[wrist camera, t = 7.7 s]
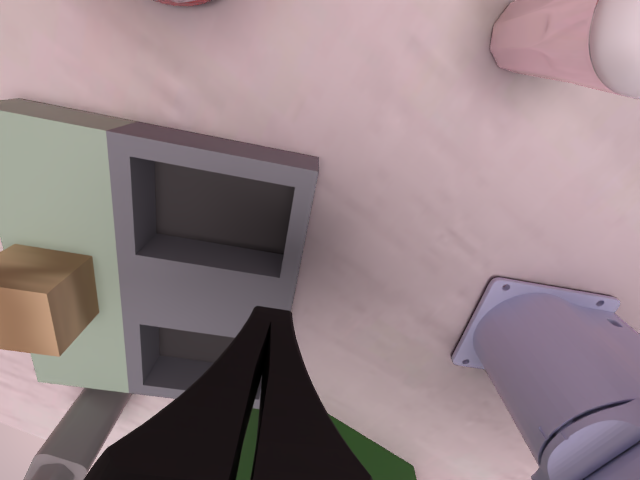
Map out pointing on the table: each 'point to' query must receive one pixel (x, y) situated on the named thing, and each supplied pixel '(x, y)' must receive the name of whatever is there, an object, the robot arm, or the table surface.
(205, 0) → the soda can
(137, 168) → the box
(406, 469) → the hardback book
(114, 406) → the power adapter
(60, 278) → the maple block
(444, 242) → the table surface
